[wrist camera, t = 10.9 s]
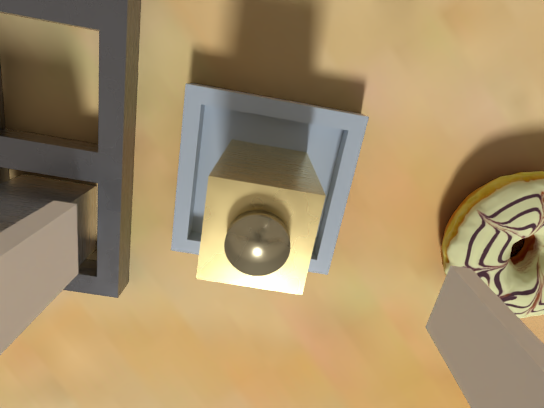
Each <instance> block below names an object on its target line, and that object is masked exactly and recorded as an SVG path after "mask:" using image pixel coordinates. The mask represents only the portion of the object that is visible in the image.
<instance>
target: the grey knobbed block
mask: <svg viewBox="0 0 544 408" xmlns="http://www.w3.org/2000/svg"><path fill="white" fill-rule="evenodd" d="M54 200H55V201H61V202H67V203H73V204H77V233H78V266H79V265H80V264H81V263H82V262H83V261H84V260H85V259H86V258H87V257H88V256H90V255H91V254H92V253H93V252H94V251H95V250H96V221H97V186H95V185H89V184H82V183H76V182H70V181H64V180H58V179H52V178H45V177H39V176H33V175H27V174H23V175H20V176H18V177H15V178H13V179H10V180H8V181H5V182H3V183H0V232H2V231H3V230H5V229H7V228H8V227H10V226H12V225H13V224H15V223H17V222H18V221H20V220H22V219H23V218H25V217H27V216H28V215H30V214H32V213H33V212H35V211H37V210H39V209H40V208H42V207H44V206H45V205H47V204H49V203H50V202H52V201H54Z"/></svg>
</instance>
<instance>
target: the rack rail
mask: <svg viewBox="0 0 544 408" xmlns="http://www.w3.org/2000/svg"><path fill="white" fill-rule="evenodd" d="M140 9H141V0H0V13H5V14H11V15H16V16H21V17H27V18H32V19H37V20H43V21H48V22H53V23H59V24H64V25H69V26H75V27H80V28H85V29H91V30H96V31H99V126H98V144H94V143H88V142H82V141H76V140H70V139H64V138H59V137H53V136H47V135H41V134H35V133H29V132H23V131H17V130H11V129H6V128H5V118H4V105H3V92H2V79H1V66H0V183H3V182H5V181H8V180H9V170H8V168H9V169H15V170H21V171H28V172H34V173H40V174H46V175H52V176H58V177H64V178H70V179H76V180H82V181H89V182H95V183H98V226H97V261H94V260H87V259H85V260H84V261H83V262H82V263H81V264H80V265H79V266H78V275H77V276H76V277H75V278H74V279H73V280H72V281H71V282H70V283H69V284H68V285H67V286H66V287H65V288H64V289H63V290H68V291H75V292H82V293H89V294H95V295H102V296H109V297H116V298H118V297H119V295H120V294H121V293H122V291H123V290H124V288H125V287H126V285H127V284H128V279H129V257H130V234H131V212H132V189H133V167H134V144H135V122H136V99H137V77H138V54H139V32H140Z"/></svg>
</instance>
